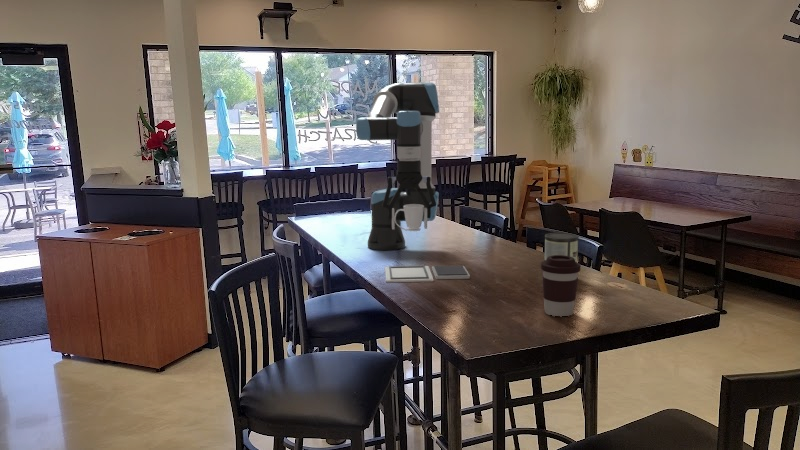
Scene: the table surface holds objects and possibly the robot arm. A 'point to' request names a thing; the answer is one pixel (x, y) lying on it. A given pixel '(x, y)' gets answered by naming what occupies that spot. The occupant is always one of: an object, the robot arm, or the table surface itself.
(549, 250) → the coffee can
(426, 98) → the robot arm
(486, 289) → the table surface
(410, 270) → the board
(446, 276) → the ink pad
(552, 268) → the coffee cup
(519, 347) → the table surface
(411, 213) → the cup
